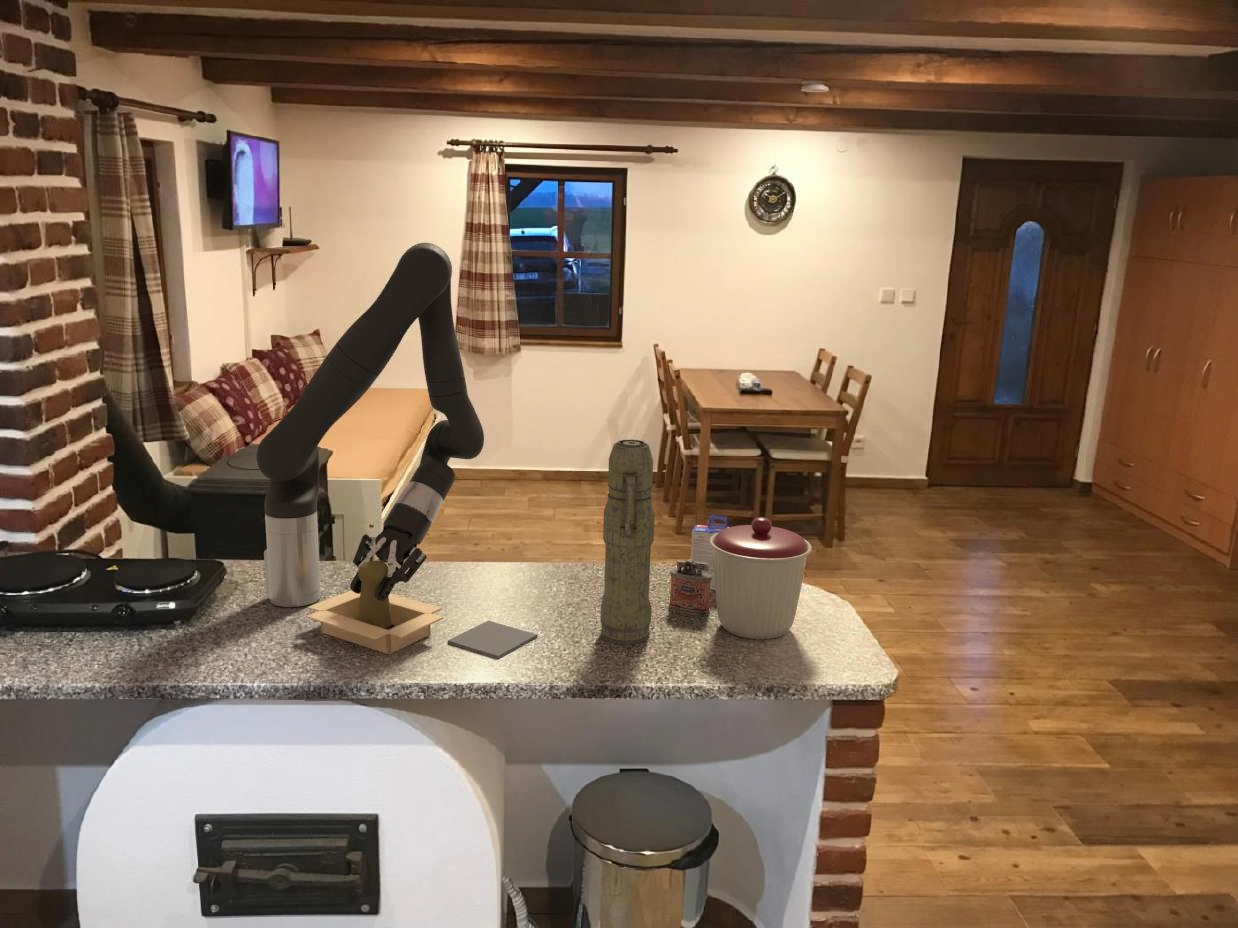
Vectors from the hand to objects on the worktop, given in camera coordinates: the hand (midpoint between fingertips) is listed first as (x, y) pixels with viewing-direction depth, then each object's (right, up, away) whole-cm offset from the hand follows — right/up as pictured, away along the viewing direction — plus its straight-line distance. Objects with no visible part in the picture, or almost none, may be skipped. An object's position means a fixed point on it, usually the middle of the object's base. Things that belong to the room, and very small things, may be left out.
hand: (366, 594), depth 168 cm
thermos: (+45, -8, +6) cm, 46 cm away
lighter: (+57, -6, +18) cm, 60 cm away
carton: (+1, -7, +3) cm, 8 cm away
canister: (+68, -8, +10) cm, 69 cm away
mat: (+22, -8, +2) cm, 23 cm away
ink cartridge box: (+63, -3, +32) cm, 71 cm away
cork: (+1, -5, +3) cm, 6 cm away
